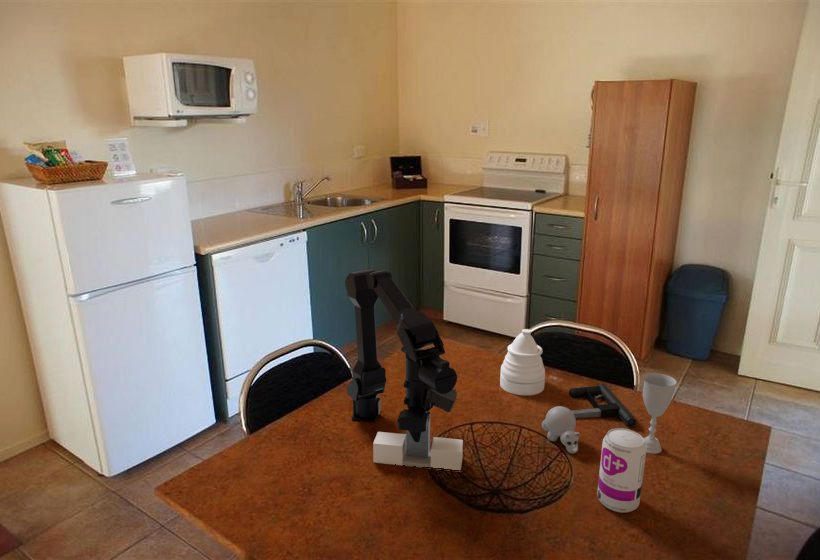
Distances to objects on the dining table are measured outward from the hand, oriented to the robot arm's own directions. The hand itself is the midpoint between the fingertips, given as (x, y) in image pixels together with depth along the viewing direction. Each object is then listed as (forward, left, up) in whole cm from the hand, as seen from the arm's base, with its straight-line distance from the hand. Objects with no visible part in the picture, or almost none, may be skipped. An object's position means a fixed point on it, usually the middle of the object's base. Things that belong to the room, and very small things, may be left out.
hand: (418, 437), depth 130 cm
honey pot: (+24, +43, -6) cm, 50 cm away
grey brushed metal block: (0, 0, -4) cm, 4 cm away
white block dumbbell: (0, 0, -6) cm, 6 cm away
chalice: (+54, +15, -6) cm, 56 cm away
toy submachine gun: (+44, +32, -7) cm, 54 cm away
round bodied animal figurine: (+33, +13, -6) cm, 36 cm away
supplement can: (+43, -7, -6) cm, 44 cm away
